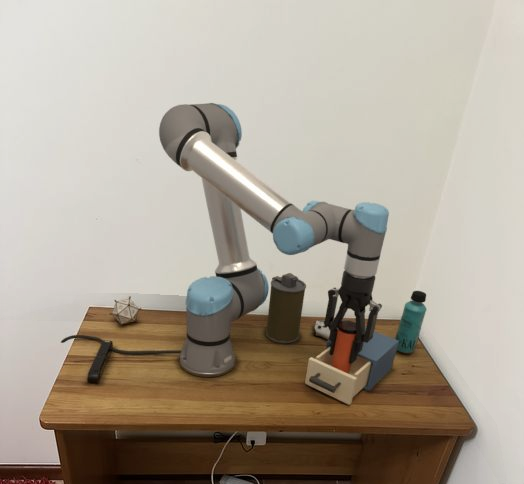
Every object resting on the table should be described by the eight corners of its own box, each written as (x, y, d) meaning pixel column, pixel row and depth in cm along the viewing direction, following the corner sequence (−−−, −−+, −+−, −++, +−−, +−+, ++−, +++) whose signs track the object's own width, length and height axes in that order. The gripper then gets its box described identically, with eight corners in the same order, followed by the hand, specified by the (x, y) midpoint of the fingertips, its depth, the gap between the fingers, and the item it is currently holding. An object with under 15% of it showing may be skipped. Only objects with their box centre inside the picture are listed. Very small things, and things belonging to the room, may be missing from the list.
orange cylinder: (326, 384, 128) (336, 327, 119) (329, 374, 132) (340, 318, 123) (345, 389, 127) (358, 332, 118) (348, 378, 131) (360, 323, 122)
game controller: (334, 339, 151) (323, 325, 149) (320, 347, 153) (309, 333, 152) (336, 325, 159) (325, 311, 157) (323, 333, 161) (312, 320, 160)
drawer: (341, 412, 120) (346, 387, 116) (295, 390, 126) (299, 365, 122) (372, 382, 133) (378, 358, 129) (330, 363, 139) (334, 339, 135)
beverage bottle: (395, 344, 154) (411, 285, 143) (416, 351, 151) (433, 292, 141) (389, 352, 149) (404, 292, 138) (410, 360, 146) (428, 299, 136)
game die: (128, 330, 154) (137, 300, 155) (139, 332, 148) (149, 301, 148) (101, 321, 148) (111, 290, 149) (112, 323, 142) (122, 291, 143)
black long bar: (98, 385, 123) (97, 375, 121) (87, 384, 122) (86, 375, 121) (113, 348, 138) (113, 339, 136) (104, 347, 138) (103, 338, 136)
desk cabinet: (368, 391, 130) (376, 361, 125) (322, 369, 137) (327, 340, 132) (391, 369, 141) (399, 340, 136) (346, 350, 148) (352, 322, 143)
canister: (305, 336, 153) (314, 277, 142) (283, 347, 146) (291, 285, 136) (280, 323, 159) (287, 265, 149) (257, 332, 152) (263, 272, 142)
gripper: (402, 280, 112) (380, 364, 124) (334, 257, 120) (320, 339, 133) (388, 289, 106) (367, 377, 119) (318, 265, 115) (305, 349, 127)
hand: (342, 356), depth 126 cm, fingers closed on orange cylinder, 5 cm apart
